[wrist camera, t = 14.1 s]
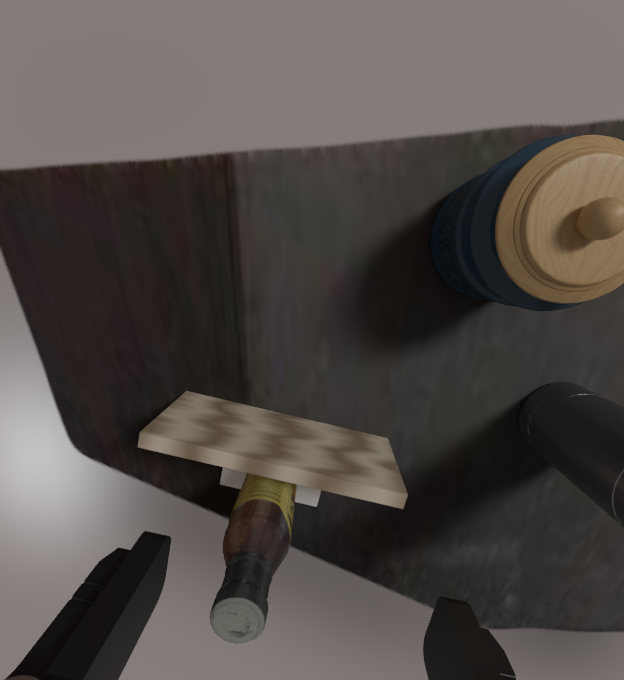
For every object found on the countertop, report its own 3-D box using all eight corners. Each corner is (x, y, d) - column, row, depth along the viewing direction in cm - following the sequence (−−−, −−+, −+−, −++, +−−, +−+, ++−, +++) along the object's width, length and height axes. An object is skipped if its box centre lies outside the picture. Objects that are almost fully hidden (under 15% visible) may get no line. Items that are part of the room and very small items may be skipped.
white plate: (331, 449, 44) (331, 452, 43) (316, 502, 46) (316, 506, 45) (232, 426, 44) (230, 429, 43) (221, 480, 45) (219, 484, 45)
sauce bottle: (282, 499, 45) (249, 677, 25) (241, 475, 44) (174, 638, 25) (309, 461, 43) (295, 618, 24) (266, 436, 43) (218, 575, 24)
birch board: (387, 438, 43) (408, 494, 32) (384, 449, 44) (403, 509, 33) (186, 391, 43) (139, 432, 32) (184, 402, 43) (137, 447, 33)
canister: (508, 316, 40) (649, 354, 22) (406, 270, 39) (470, 272, 22) (570, 206, 37) (785, 153, 20) (462, 155, 36) (586, 54, 19)
